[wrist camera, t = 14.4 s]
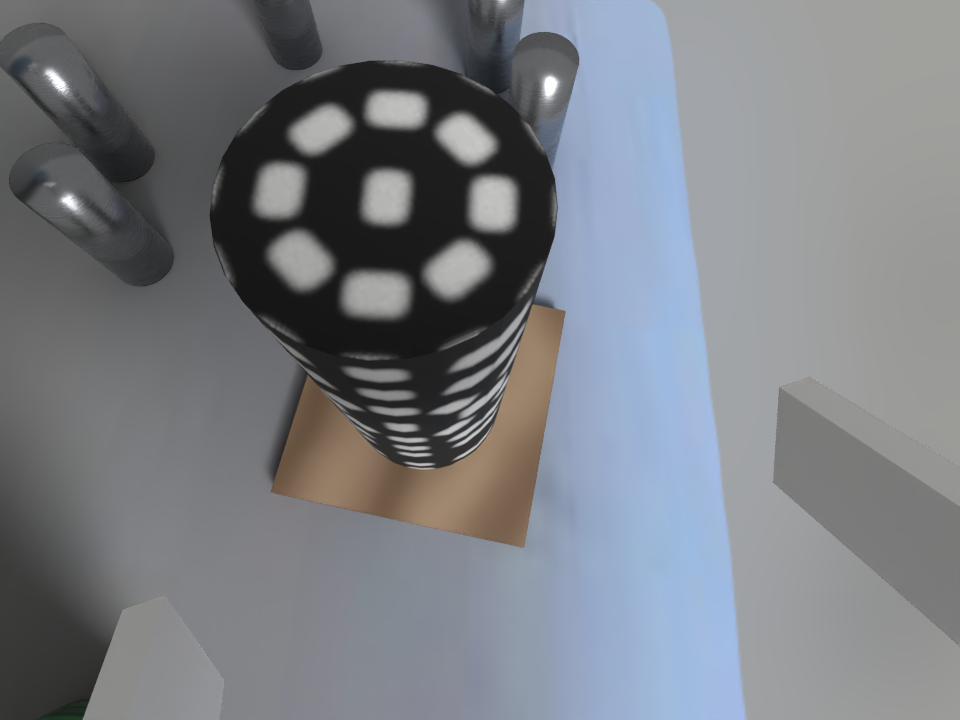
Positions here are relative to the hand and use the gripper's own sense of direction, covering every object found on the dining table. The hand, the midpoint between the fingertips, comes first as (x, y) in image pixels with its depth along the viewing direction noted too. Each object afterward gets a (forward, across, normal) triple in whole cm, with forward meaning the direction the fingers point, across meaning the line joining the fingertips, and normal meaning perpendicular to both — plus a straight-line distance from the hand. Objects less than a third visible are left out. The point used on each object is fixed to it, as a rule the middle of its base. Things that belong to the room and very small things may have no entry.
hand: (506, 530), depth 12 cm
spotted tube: (+20, 0, -8) cm, 21 cm away
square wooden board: (+21, 0, -9) cm, 23 cm away
